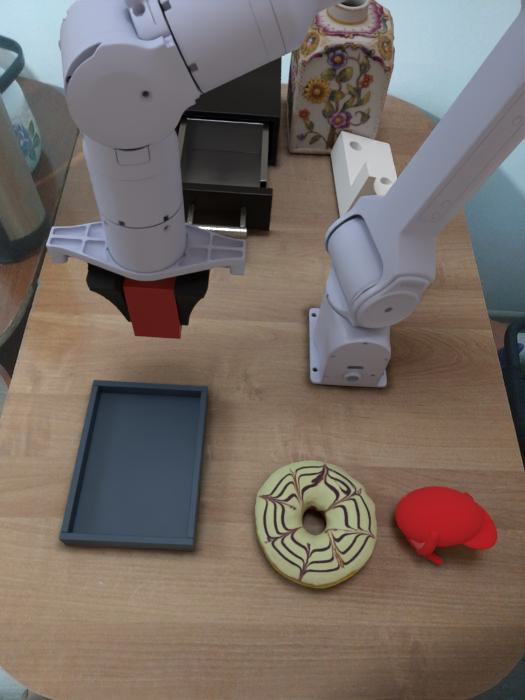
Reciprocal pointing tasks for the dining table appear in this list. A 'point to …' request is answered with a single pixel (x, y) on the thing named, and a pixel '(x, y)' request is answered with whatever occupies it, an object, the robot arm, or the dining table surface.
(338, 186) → the bracket
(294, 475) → the decorated donut
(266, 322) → the dining table surface
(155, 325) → the red block
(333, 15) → the decorative jar
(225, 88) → the black drawer cabinet
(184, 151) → the drawer
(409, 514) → the cap
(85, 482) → the tray
